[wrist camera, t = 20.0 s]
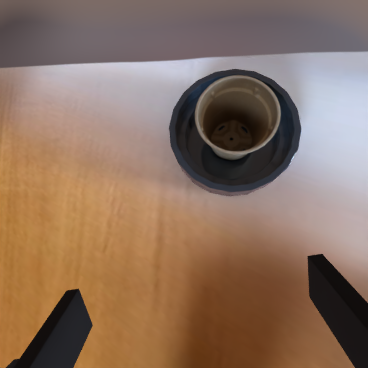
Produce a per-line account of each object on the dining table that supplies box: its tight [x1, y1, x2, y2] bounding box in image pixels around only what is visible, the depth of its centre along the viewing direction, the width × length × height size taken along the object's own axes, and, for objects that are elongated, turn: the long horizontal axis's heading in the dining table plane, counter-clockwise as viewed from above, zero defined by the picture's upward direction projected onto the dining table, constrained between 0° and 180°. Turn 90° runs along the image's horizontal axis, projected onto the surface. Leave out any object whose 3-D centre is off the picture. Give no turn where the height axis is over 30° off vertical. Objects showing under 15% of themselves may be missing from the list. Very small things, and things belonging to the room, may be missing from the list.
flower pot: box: [195, 75, 281, 160], centre depth 31 cm, size 9×9×9 cm
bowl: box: [169, 69, 301, 196], centre depth 33 cm, size 17×17×5 cm
